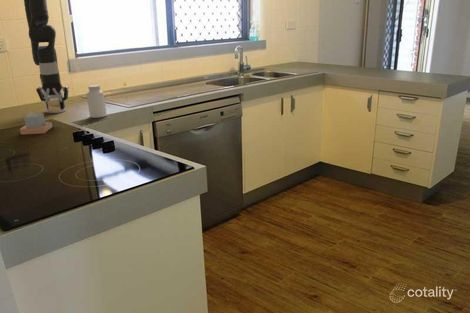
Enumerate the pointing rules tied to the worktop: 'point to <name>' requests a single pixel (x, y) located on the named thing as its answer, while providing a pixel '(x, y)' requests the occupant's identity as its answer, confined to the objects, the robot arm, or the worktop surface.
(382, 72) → the worktop surface
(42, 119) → the blue block
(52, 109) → the oak block
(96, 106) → the pill bottle
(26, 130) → the tile base
